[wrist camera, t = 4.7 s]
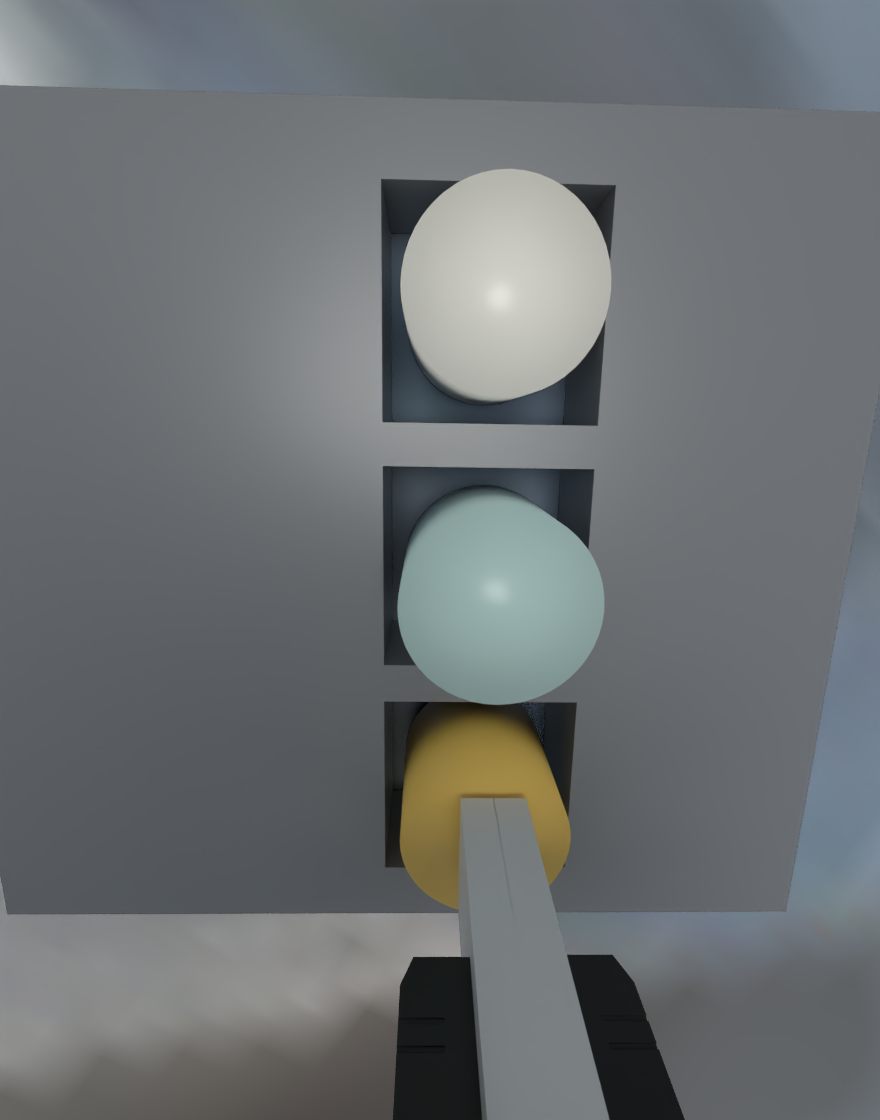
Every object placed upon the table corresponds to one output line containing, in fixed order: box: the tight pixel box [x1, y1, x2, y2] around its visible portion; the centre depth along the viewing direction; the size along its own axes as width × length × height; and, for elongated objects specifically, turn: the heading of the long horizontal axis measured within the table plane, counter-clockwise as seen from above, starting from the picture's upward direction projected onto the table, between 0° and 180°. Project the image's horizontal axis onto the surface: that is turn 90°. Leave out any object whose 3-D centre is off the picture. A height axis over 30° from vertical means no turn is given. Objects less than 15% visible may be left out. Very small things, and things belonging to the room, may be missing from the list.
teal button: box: [397, 485, 604, 705], centre depth 13 cm, size 4×4×4 cm
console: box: [0, 85, 880, 914], centre depth 16 cm, size 22×20×4 cm
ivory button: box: [400, 169, 611, 405], centre depth 13 cm, size 4×4×4 cm
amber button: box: [400, 702, 571, 909], centre depth 15 cm, size 4×4×4 cm
